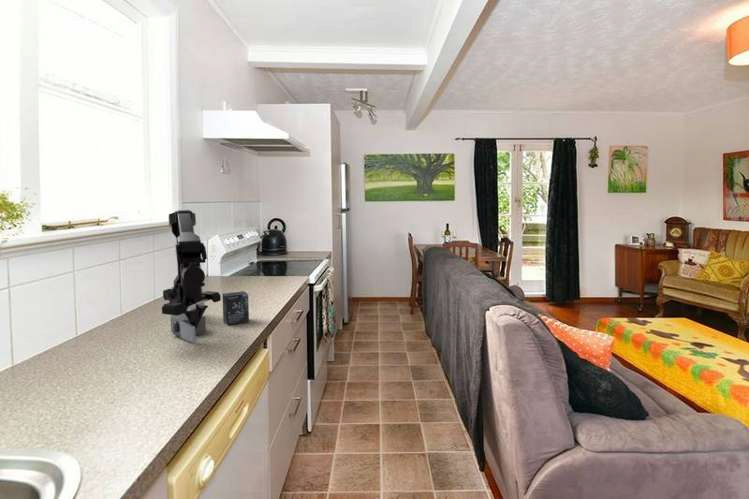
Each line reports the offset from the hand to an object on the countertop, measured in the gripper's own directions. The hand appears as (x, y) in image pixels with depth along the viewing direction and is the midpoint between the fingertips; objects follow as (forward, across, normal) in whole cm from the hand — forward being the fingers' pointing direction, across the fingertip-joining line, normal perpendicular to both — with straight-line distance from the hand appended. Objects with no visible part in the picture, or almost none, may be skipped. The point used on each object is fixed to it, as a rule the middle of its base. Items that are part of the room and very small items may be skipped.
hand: (194, 329), depth 133 cm
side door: (+3, +1, -2) cm, 4 cm away
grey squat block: (+4, -6, -9) cm, 11 cm away
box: (+4, -22, -2) cm, 22 cm away
